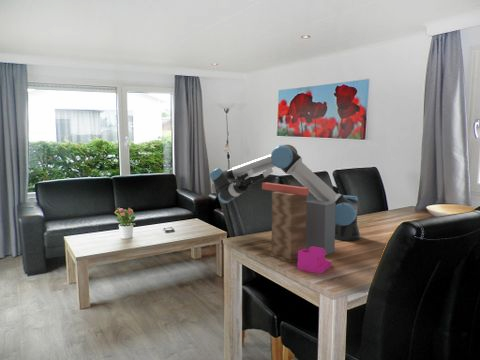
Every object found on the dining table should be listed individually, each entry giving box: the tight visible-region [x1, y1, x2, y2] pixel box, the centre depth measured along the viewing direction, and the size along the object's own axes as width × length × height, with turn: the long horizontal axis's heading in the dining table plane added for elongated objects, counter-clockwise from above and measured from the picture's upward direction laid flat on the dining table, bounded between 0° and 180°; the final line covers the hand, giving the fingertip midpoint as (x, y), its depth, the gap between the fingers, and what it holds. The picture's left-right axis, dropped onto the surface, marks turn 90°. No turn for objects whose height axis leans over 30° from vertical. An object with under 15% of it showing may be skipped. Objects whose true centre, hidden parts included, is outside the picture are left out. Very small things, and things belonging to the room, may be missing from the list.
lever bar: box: [261, 181, 310, 196], centre depth 180 cm, size 26×3×3 cm, turn 41°
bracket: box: [297, 246, 333, 275], centre depth 167 cm, size 12×10×10 cm
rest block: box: [306, 199, 336, 256], centre depth 188 cm, size 12×8×24 cm, turn 41°
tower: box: [268, 191, 308, 264], centre depth 180 cm, size 14×12×30 cm
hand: (262, 170), depth 198 cm, fingers open, 13 cm apart
